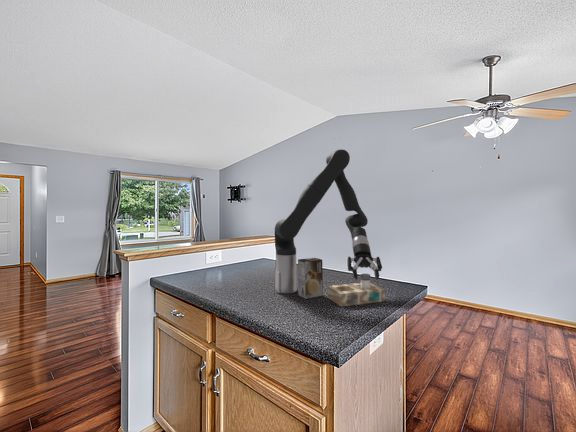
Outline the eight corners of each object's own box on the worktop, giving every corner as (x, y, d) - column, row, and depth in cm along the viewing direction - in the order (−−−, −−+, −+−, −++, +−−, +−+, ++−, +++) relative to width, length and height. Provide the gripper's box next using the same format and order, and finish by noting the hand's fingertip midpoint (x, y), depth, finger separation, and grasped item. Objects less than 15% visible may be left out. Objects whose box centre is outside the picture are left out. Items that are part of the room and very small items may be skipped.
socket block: (341, 306, 112) (341, 294, 111) (327, 297, 123) (327, 285, 123) (385, 301, 118) (385, 289, 117) (368, 293, 129) (368, 282, 129)
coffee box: (315, 292, 131) (315, 257, 131) (323, 295, 126) (323, 259, 125) (297, 295, 127) (297, 259, 127) (305, 299, 121) (305, 261, 121)
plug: (363, 300, 120) (363, 276, 120) (358, 297, 124) (358, 274, 123) (372, 299, 121) (372, 275, 121) (366, 296, 125) (366, 273, 125)
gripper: (346, 242, 129) (350, 273, 118) (378, 242, 129) (385, 274, 118) (344, 252, 135) (348, 283, 124) (375, 252, 134) (382, 283, 123)
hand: (366, 278), depth 121 cm, fingers open, 8 cm apart
